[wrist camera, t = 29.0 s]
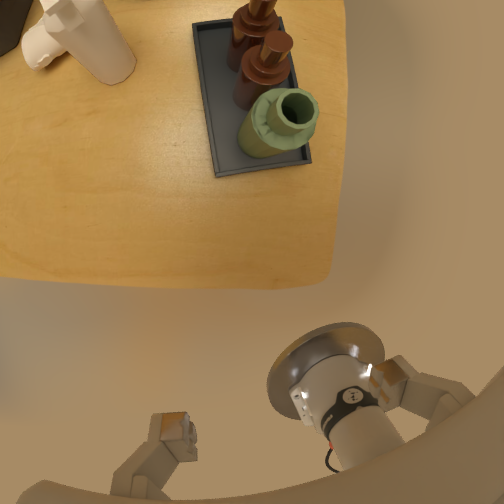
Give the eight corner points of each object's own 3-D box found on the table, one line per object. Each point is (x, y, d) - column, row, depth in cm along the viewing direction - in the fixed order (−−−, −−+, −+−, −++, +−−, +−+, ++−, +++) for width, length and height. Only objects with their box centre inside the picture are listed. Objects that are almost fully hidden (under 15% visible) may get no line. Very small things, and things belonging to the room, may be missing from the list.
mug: (90, 47, 28) (71, 28, 20) (45, 76, 27) (21, 64, 20) (83, 6, 24) (68, -14, 16) (41, 32, 24) (21, 17, 16)
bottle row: (270, 109, 35) (313, 65, 18) (235, 113, 34) (254, 66, 18) (257, 45, 31) (287, -23, 15) (223, 48, 31) (234, -23, 14)
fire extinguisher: (120, 28, 28) (63, -64, 4) (149, 75, 31) (87, -24, 8) (85, 51, 28) (4, -20, 4) (111, 101, 31) (12, 35, 8)
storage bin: (5, 5, 16) (-23, -15, 3) (56, -24, 18) (32, -53, 5) (-17, 76, 22) (-58, 65, 9) (33, 46, 24) (-8, 21, 11)
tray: (305, 163, 38) (312, 163, 36) (215, 177, 37) (215, 177, 34) (277, 24, 31) (281, 16, 29) (192, 31, 30) (191, 23, 27)
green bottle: (283, 155, 37) (339, 142, 20) (240, 161, 36) (266, 149, 19) (276, 115, 35) (326, 74, 18) (234, 120, 34) (253, 76, 17)
